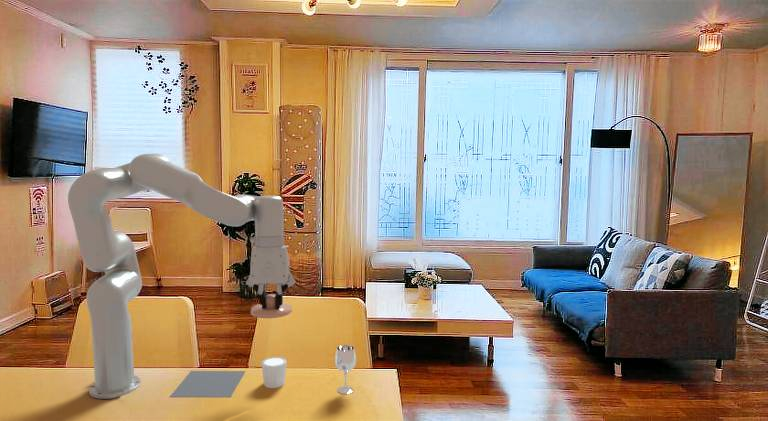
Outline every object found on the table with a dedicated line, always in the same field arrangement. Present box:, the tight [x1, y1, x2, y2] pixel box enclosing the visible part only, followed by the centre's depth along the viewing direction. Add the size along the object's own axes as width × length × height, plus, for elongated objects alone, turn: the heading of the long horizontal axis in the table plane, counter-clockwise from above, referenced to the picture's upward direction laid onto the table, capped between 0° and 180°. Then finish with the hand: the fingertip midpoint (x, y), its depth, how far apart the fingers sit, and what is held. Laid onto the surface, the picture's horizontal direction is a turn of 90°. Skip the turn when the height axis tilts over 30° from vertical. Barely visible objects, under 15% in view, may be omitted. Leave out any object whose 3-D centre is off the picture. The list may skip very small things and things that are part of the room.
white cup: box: [261, 356, 287, 389], centre depth 145 cm, size 7×7×7 cm
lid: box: [250, 293, 293, 319], centre depth 143 cm, size 11×11×4 cm
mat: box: [169, 370, 246, 398], centre depth 145 cm, size 16×16×1 cm
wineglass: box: [334, 344, 357, 395], centre depth 142 cm, size 6×6×12 cm
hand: (271, 306), depth 143 cm, fingers closed on lid, 3 cm apart
